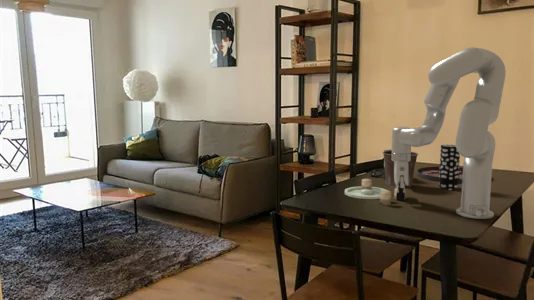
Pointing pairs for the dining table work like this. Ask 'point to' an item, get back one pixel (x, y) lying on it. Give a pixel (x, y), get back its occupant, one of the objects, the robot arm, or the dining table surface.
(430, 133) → the robot arm
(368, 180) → the bead
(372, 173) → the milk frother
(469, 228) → the dining table surface
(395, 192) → the tan egg
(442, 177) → the white-spotted black cylinder
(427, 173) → the palette wheel
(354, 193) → the pale green faceted plate
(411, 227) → the dining table surface
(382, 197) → the brown egg
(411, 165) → the plant pot
